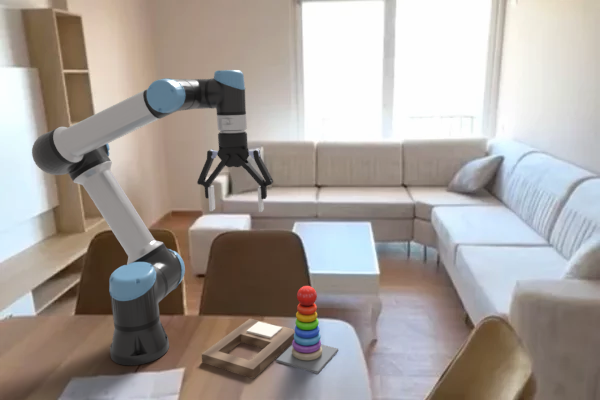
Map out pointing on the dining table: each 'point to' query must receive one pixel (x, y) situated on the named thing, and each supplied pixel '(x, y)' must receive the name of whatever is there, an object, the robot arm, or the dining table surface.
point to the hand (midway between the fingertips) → (236, 210)
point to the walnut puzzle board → (252, 334)
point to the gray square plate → (308, 365)
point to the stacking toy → (306, 326)
